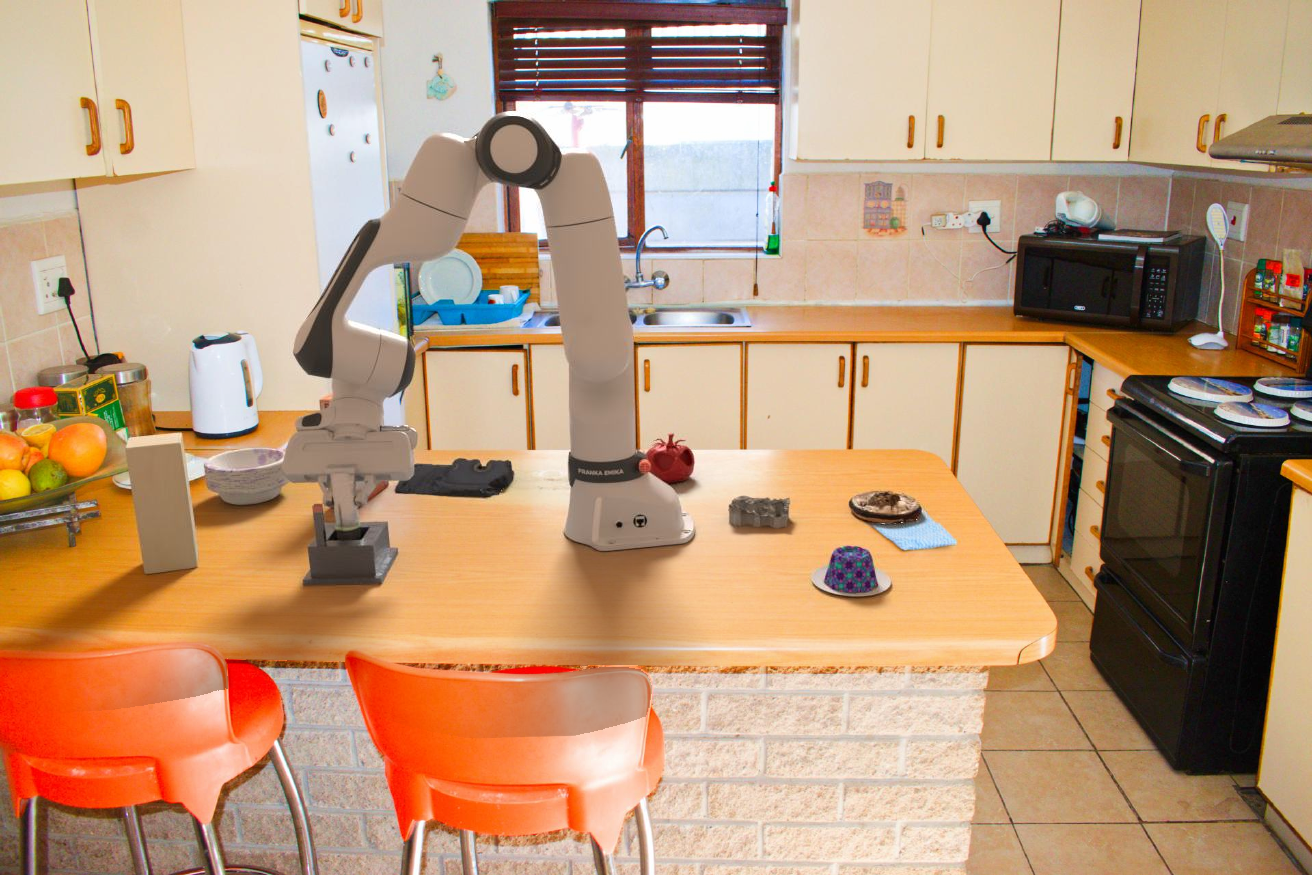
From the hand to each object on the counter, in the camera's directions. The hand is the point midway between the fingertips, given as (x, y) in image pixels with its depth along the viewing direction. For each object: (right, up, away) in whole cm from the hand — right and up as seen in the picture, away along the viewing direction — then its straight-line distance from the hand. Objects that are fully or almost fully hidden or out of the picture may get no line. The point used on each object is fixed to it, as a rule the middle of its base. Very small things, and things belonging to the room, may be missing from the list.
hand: (344, 504), depth 163 cm
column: (0, -9, +3) cm, 10 cm away
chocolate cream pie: (+90, -4, +25) cm, 93 cm away
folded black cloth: (+9, +1, +43) cm, 44 cm away
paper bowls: (-29, -1, +37) cm, 47 cm away
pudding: (+78, -12, -3) cm, 79 cm away
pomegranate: (+51, +2, +44) cm, 68 cm away
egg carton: (+67, -5, +22) cm, 70 cm away
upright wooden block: (-30, -10, +7) cm, 32 cm away
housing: (0, -11, +4) cm, 11 cm away
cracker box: (-8, -1, +36) cm, 37 cm away
